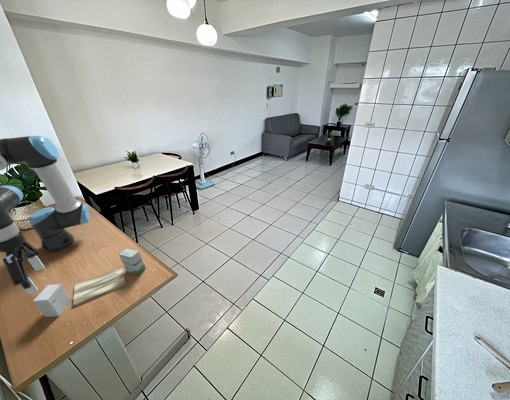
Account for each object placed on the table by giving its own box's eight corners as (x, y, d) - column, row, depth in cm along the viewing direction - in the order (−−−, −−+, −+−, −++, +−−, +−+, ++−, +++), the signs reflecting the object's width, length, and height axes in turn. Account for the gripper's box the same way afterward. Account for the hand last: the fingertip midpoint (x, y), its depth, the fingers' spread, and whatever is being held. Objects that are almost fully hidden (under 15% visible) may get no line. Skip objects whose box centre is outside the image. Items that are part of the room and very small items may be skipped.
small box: (59, 300, 95) (47, 284, 90) (72, 299, 96) (61, 283, 91) (45, 317, 88) (31, 301, 83) (59, 316, 89) (47, 300, 84)
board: (75, 286, 102) (74, 284, 101) (122, 267, 112) (122, 266, 111) (74, 306, 92) (72, 304, 92) (125, 284, 102) (124, 282, 101)
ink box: (146, 268, 111) (139, 251, 105) (138, 275, 107) (131, 257, 101) (133, 264, 114) (126, 247, 108) (125, 271, 110) (117, 253, 104)
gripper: (1, 223, 80) (31, 264, 90) (-26, 262, 62) (15, 309, 72) (28, 217, 84) (53, 257, 94) (9, 252, 66) (44, 298, 76)
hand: (37, 280), depth 83 cm, fingers open, 13 cm apart
